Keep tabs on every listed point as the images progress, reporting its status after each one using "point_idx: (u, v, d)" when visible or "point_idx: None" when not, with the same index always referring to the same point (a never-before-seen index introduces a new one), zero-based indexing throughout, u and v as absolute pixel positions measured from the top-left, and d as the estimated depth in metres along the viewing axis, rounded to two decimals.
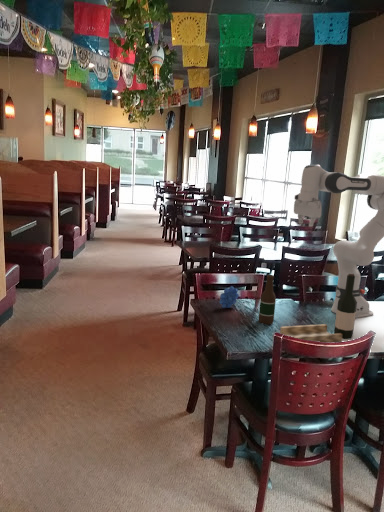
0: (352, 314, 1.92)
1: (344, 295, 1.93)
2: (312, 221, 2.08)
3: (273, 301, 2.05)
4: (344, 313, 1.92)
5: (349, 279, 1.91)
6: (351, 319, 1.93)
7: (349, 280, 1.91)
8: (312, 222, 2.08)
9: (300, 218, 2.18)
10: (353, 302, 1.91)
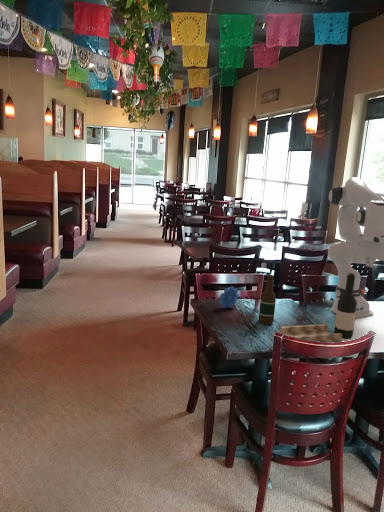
0: (352, 314, 1.92)
1: (344, 295, 1.93)
2: None
3: (273, 301, 2.05)
4: (344, 313, 1.92)
5: (349, 279, 1.91)
6: (351, 319, 1.93)
7: (349, 280, 1.91)
8: None
9: None
10: (353, 302, 1.91)
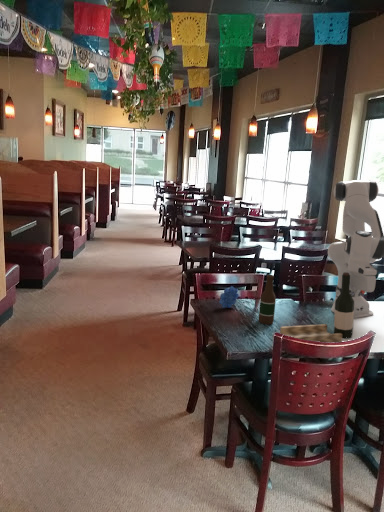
0: (350, 313, 1.92)
1: (341, 295, 1.93)
2: None
3: (273, 301, 2.05)
4: (341, 313, 1.92)
5: (344, 279, 1.91)
6: (349, 318, 1.92)
7: (344, 280, 1.91)
8: None
9: None
10: (350, 301, 1.91)
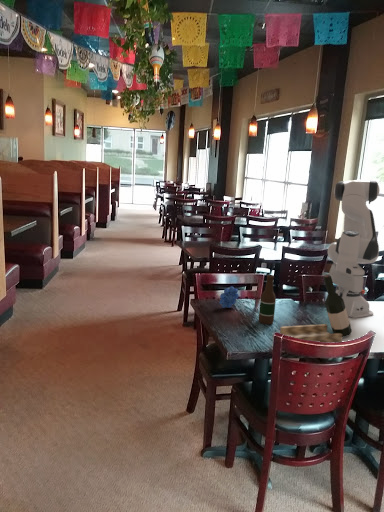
0: (342, 312, 1.91)
1: (328, 297, 1.92)
2: None
3: (273, 301, 2.05)
4: (334, 314, 1.92)
5: (326, 281, 1.89)
6: (343, 317, 1.92)
7: (327, 282, 1.89)
8: None
9: None
10: (338, 301, 1.90)
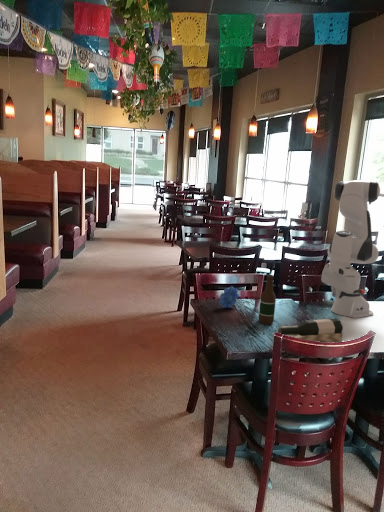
0: None
1: None
2: None
3: (273, 301, 2.05)
4: None
5: None
6: None
7: None
8: None
9: None
10: None
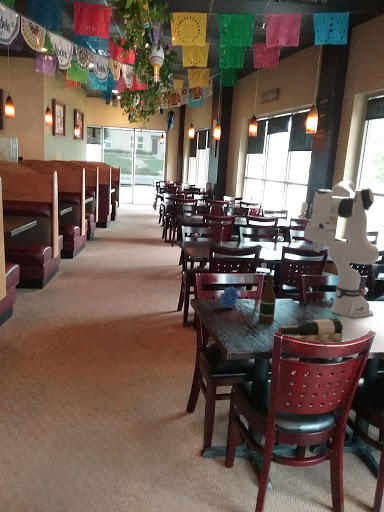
0: None
1: None
2: None
3: (273, 301, 2.05)
4: None
5: None
6: None
7: None
8: None
9: None
10: None
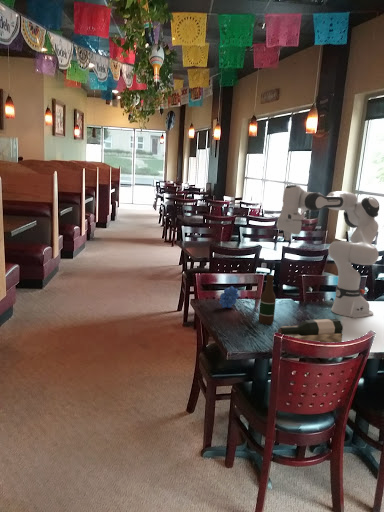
0: None
1: None
2: None
3: (273, 301, 2.05)
4: None
5: None
6: None
7: None
8: None
9: None
10: None
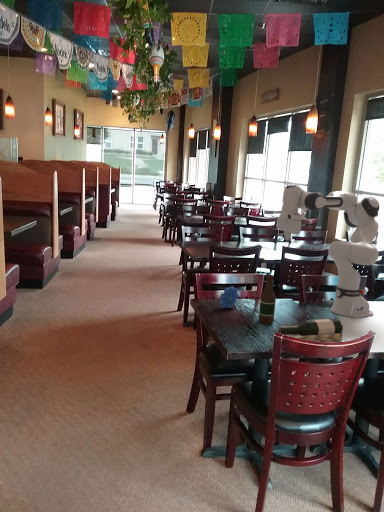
0: None
1: None
2: None
3: (273, 301, 2.05)
4: None
5: None
6: None
7: None
8: None
9: None
10: None
